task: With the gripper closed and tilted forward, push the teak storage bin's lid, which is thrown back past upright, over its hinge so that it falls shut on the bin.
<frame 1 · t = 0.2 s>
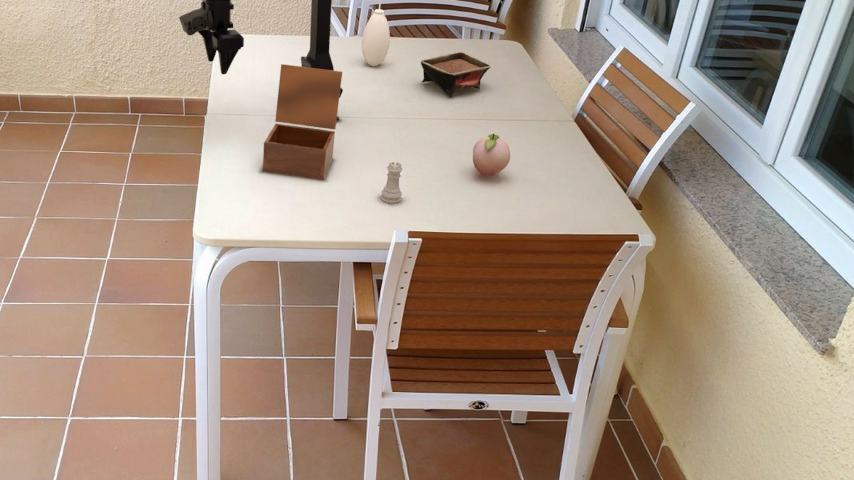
hand: (217, 67, 223), 15 cm above the table, tool pointing down, fingers open, 9 cm apart
rook chess piece: (390, 200, 204), on the table
bin lid: (308, 96, 214), point 13 cm above the table, hinge at 105.0°
bin: (298, 165, 216), on the table
square footed planter: (451, 88, 265), on the table
decorative fruit: (487, 177, 217), on the table
cream tall oval piece: (373, 65, 277), on the table
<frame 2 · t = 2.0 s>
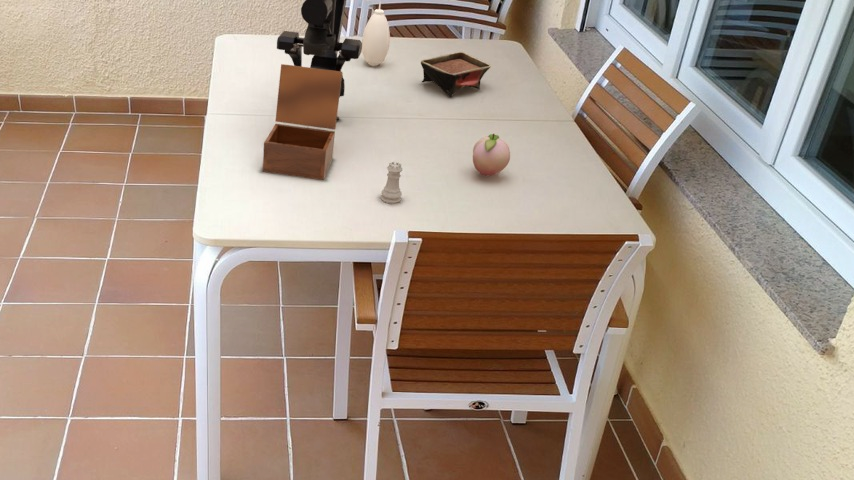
hand: (316, 82, 223), 13 cm above the table, tool pointing down, fingers open, 8 cm apart
nothing on the table moved.
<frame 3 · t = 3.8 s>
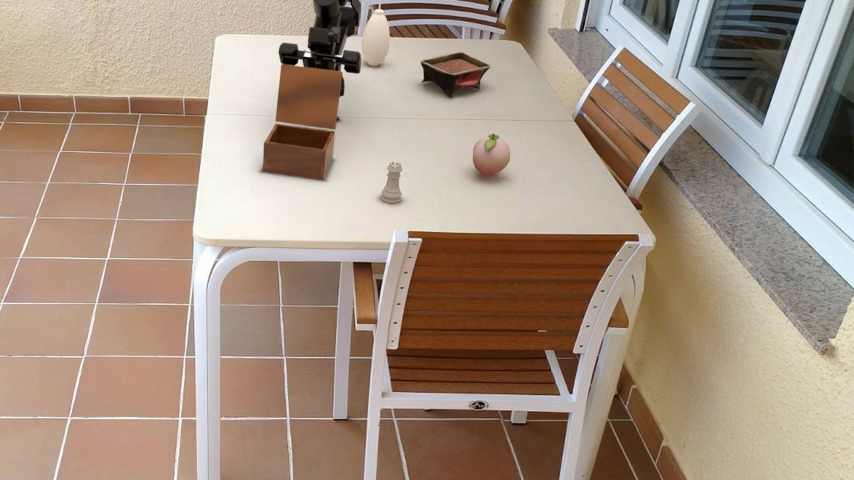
hand: (313, 92, 220), 12 cm above the table, tool tilted 45°, fingers closed
nothing on the table moved.
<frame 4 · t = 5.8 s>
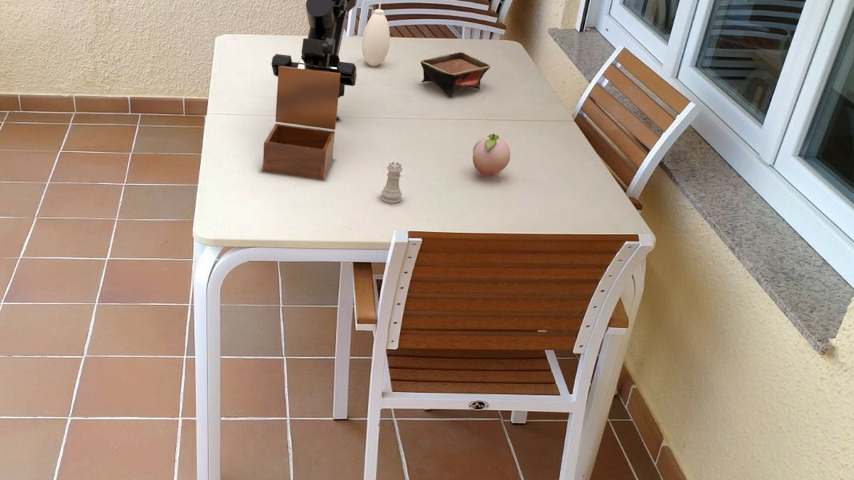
hand: (307, 104, 215), 12 cm above the table, tool tilted 45°, fingers closed, pressing on bin lid
bin lid: (307, 98, 213), point 13 cm above the table, hinge at 92.3°, touching gripper
everything else where it was.
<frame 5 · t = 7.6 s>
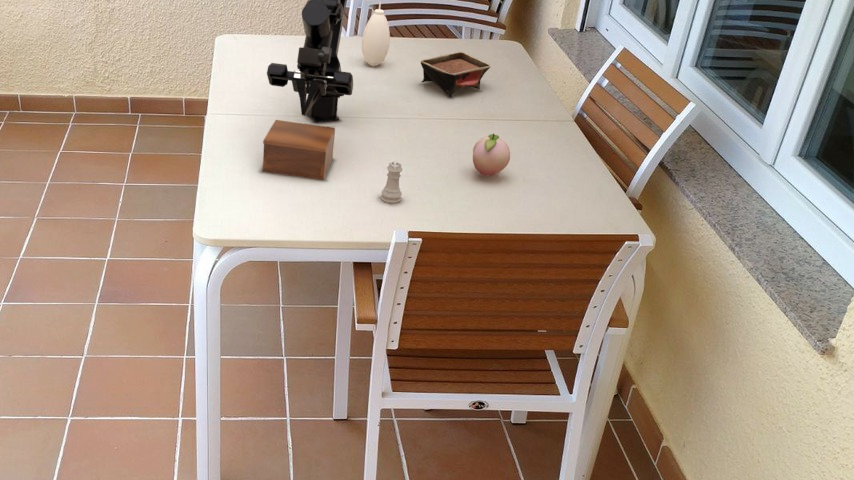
hand: (303, 114, 211), 11 cm above the table, tool tilted 45°, fingers closed
bin lid: (299, 135, 211), point 7 cm above the table, hinge at -0.2°
everything else where it was.
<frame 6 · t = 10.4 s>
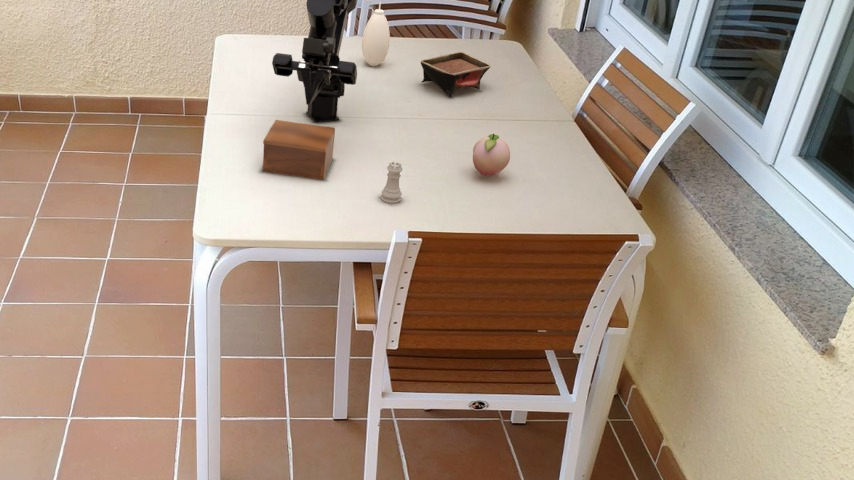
hand: (308, 104, 215), 12 cm above the table, tool tilted 45°, fingers closed
nothing on the table moved.
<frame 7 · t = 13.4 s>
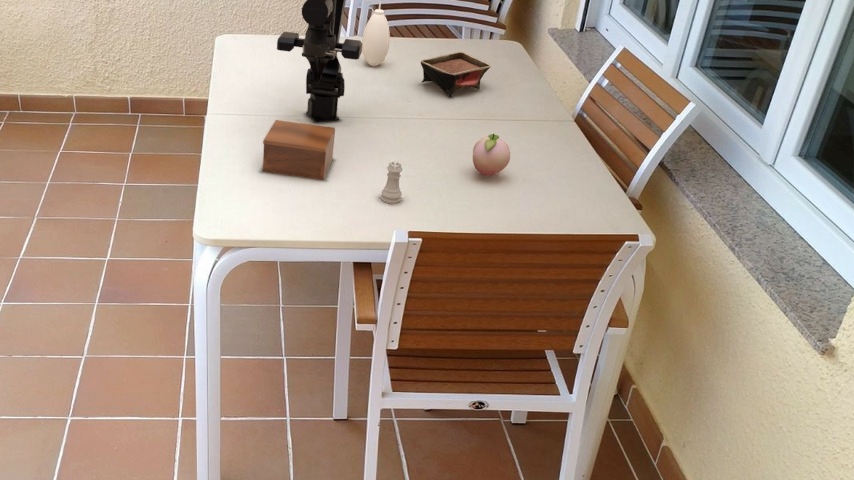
hand: (317, 82, 223), 13 cm above the table, tool pointing down, fingers closed
nothing on the table moved.
at the end: bin lid at +0° (first picture: +105°); the gripper is holding nothing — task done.
